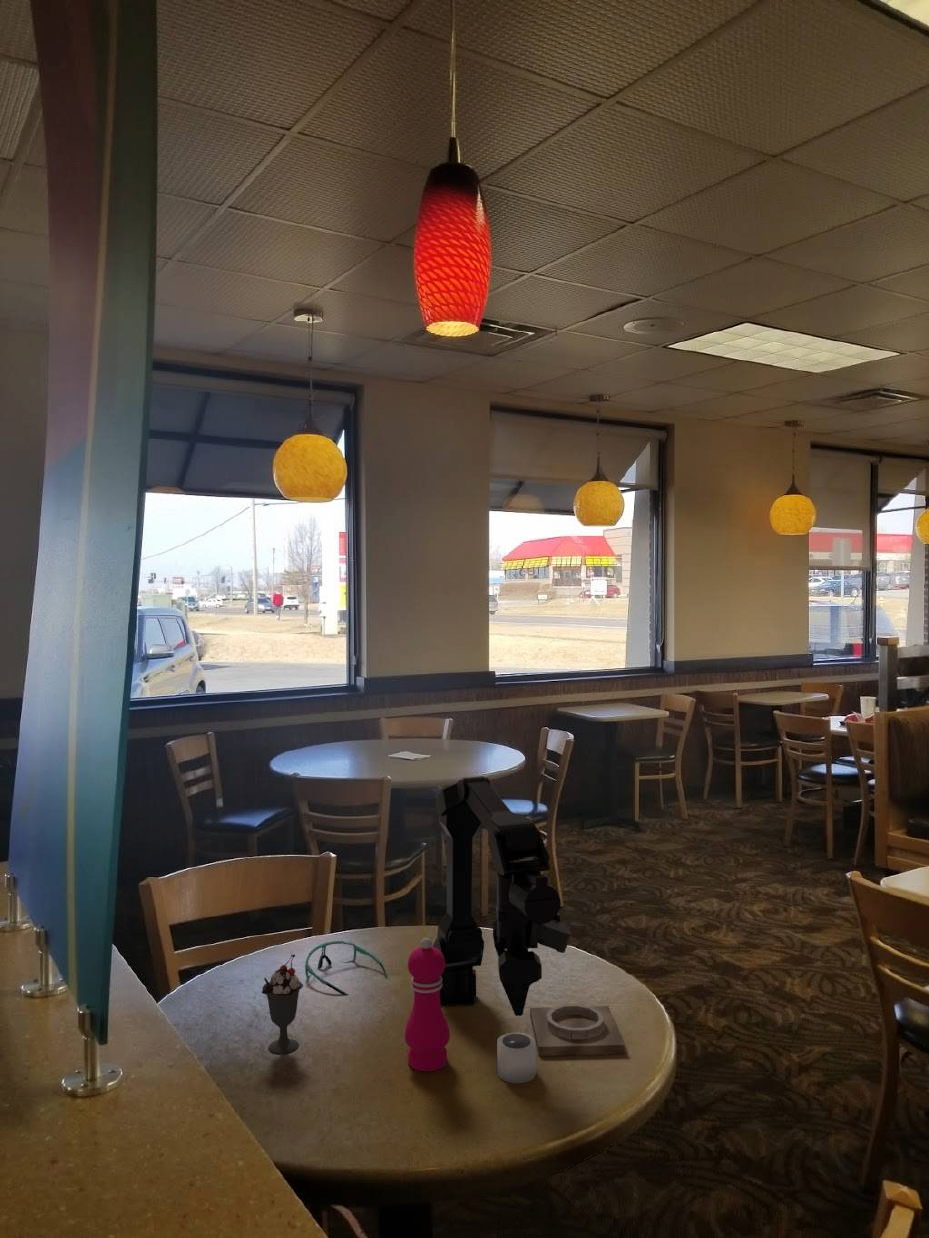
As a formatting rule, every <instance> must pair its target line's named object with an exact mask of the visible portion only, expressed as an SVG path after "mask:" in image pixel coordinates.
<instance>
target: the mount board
mask: <svg viewBox="0 0 929 1238" xmlns="http://www.w3.org/2000/svg"><path fill="white" fill-rule="evenodd" d="M529 1017H530V1022H531V1026H532V1031H533V1038H534V1039H535V1041H536V1050H537V1051H536V1052H537V1054H538V1057H549V1056H550V1057H551V1056H554V1057H556V1056H592V1055H593V1056H597V1055H600V1056H601V1055H625V1054H626V1053H625V1043H624V1040H623V1039H622V1036H621V1033H620V1030H619V1029H618V1026H617V1024H616V1021H615V1019H614V1016H613V1014H612V1012H611V1010H610V1007H609V1005H606V1006H605V1005H604V1006H603V1005H602V1006H601V1005H600V1006H597V1005H596V1006H595V1005H594V1006H592V1005H591V1006H589V1005H584V1004H581V1003H570V1004H569V1003H565V1004H561V1005H557V1006H554V1007H550V1006H549V1007H545V1006H544V1007H529Z"/></svg>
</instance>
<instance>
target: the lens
mask: <svg viewBox="0 0 929 1238" xmlns="http://www.w3.org/2000/svg"><path fill="white" fill-rule="evenodd" d="M496 1041H497V1042H496V1043H497V1044H496V1045H497V1046H496V1049H497V1050H496V1052H497V1053H496V1054H497V1057H496V1059H497V1063H496V1064H497V1067H496V1068H497V1076H498V1078H499V1079H500V1080H502V1081H504V1082H506V1083H511V1084H524V1083H528V1082H530V1081H532V1080H533V1079H535V1077H536V1074H537V1068H536V1067H537V1060H536V1059H537V1055H536V1054H537V1053H536V1052H537V1051H536V1050H537V1046H536V1041H535V1037H534V1036H531V1035H529V1033H524V1032H508V1033H504V1034H501V1035H500V1036H499V1037H498V1038H497V1040H496Z"/></svg>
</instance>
